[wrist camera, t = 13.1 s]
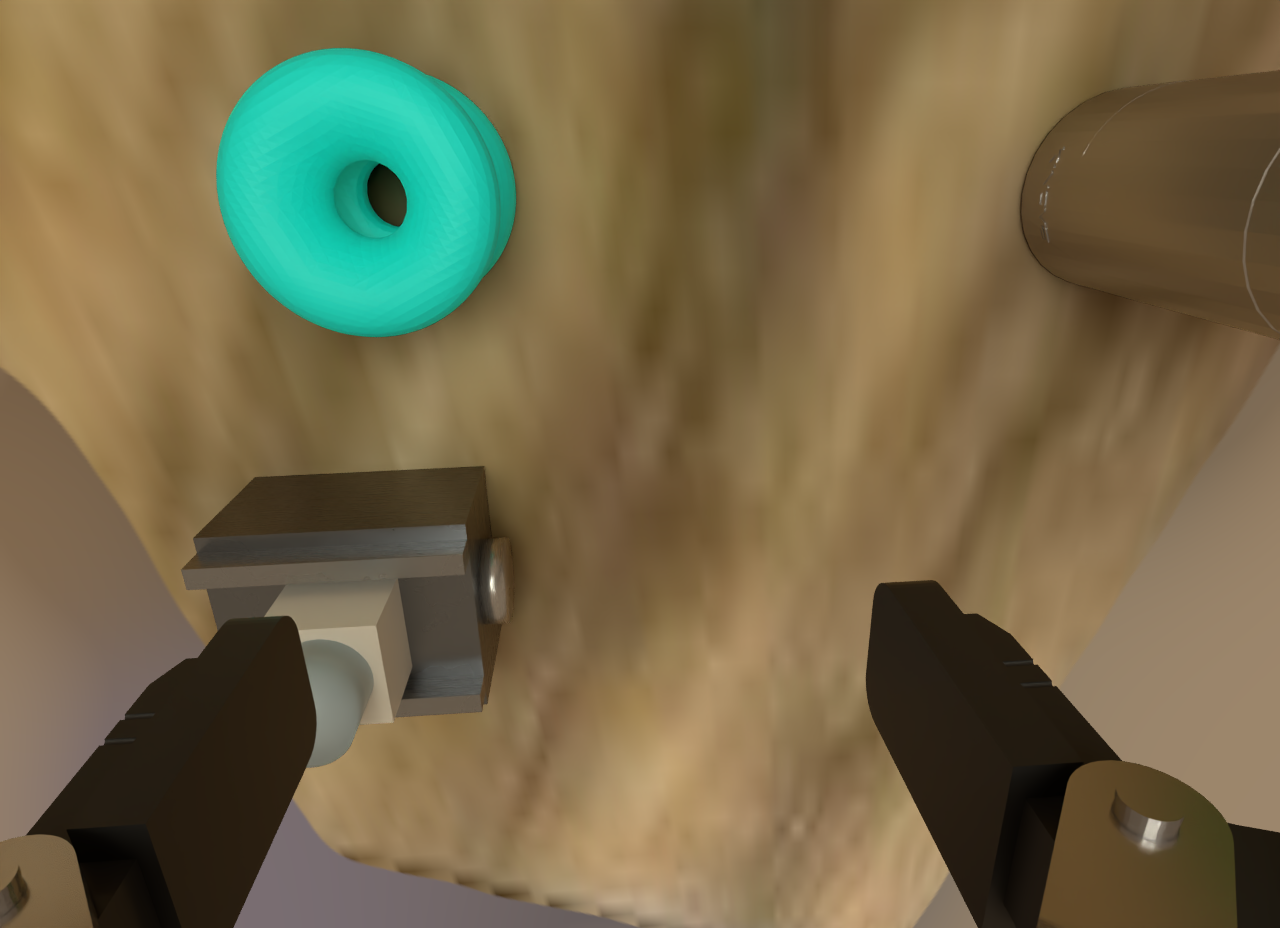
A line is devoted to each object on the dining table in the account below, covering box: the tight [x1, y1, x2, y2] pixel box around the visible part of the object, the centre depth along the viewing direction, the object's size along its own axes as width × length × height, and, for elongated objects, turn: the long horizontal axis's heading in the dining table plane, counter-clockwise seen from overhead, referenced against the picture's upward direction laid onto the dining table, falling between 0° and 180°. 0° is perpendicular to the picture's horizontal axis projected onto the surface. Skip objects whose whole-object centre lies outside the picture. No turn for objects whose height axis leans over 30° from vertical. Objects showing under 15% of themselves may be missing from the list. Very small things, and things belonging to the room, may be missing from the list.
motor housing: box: [181, 466, 514, 717], centre depth 40 cm, size 13×10×8 cm
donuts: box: [216, 48, 516, 337], centre depth 32 cm, size 10×10×10 cm
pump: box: [264, 578, 412, 768], centre depth 34 cm, size 5×5×7 cm
